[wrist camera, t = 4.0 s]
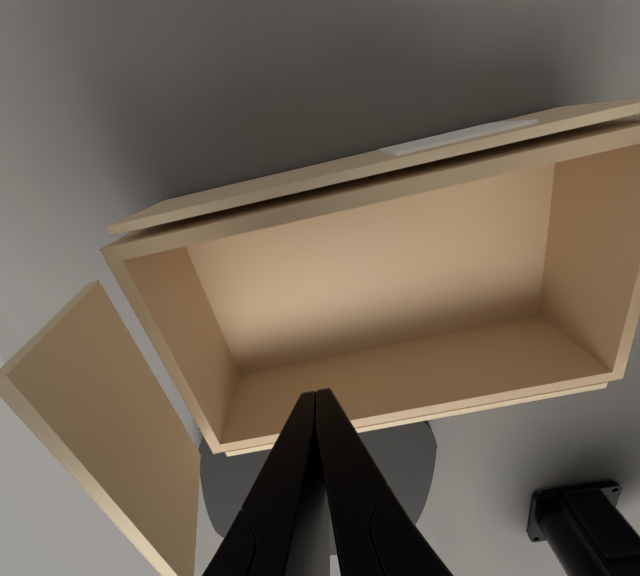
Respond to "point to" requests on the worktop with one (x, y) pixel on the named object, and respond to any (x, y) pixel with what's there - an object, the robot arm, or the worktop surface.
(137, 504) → the flap
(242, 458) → the media streaming box
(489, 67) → the worktop surface
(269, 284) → the carton
